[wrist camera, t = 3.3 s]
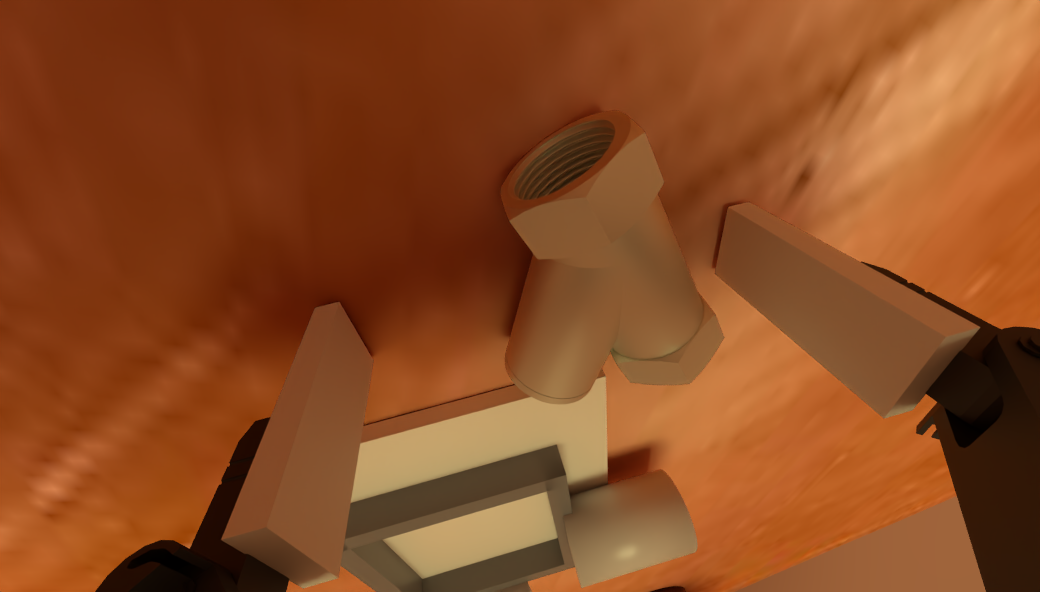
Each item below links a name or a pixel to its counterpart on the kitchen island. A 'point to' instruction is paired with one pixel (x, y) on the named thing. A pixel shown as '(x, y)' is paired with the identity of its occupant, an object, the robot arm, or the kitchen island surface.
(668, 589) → the candlestick
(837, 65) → the kitchen island surface
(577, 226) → the pipe fitting
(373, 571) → the coupling board
